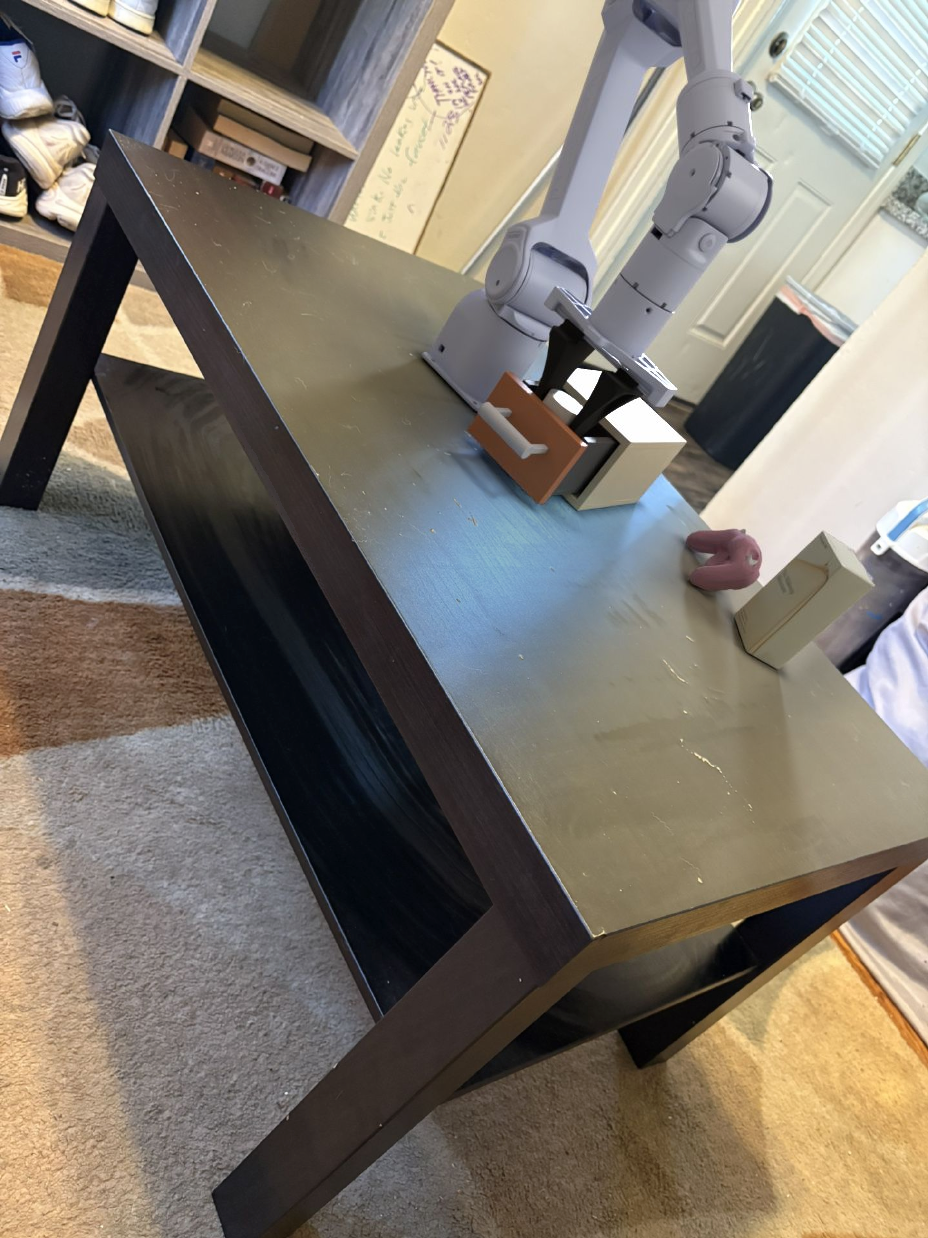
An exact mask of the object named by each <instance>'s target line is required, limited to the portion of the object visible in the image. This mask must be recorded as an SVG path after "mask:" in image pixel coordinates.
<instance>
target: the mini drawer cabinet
mask: <svg viewBox="0 0 928 1238" xmlns="http://www.w3.org/2000/svg"><path fill="white" fill-rule="evenodd" d="M601 372H602V371H599V370H593V369H592V370H591V369H584V368H579V367H578V368H577V369H576V370H575V371H574V373H573V374H572V375H571V376H570V377H569V379H568V380H567V382H566V383H565V385H564V386H563V389H564V390H565V391H566V392H568V393H569V394H570V395H571V396H572V397H573V398H574V399H575V400H576V401H577V402H578V403H579V404H580V405H581V406H582V407H583V406H584V405H585V403H586V401H587V400H588V398H589V396H590V395H591V393H592V391H593V389H594V387H595V385H596V383H597V381H598V378H599V376H600V374H601ZM540 380H541V377H540V378H539V380H538V381H540ZM599 423H600V424H601V425H602V426H603V427H604V428H605V429H606V430H607V431H608V432H609V433H610V434H611V435H612V436H613V437H614V438H615V439H616V440H618V441H619V442H620V443H621V444H620V445H619V446H618V448H617V449H616V450H615V451H614V453H613V454H612V455H611V456H610V458H609V459H608V460H607V462H606V463H605V464H604V465H603V467H602V468H601V469H600V471H599V472H598V473H597V474H596V476H595V477H594V478H593V480H592V481H591V482H590V483H589V485H588V486H587V487H586V489H585V490H584V491H583V492H579V493H569V494H560V496H562V497H563V498H564V499H565V500H566V501H567V502H568V504H570V505H571V506H572V507H573V508H574V509H575V510H576V511H578V512H579V511H586V510H594V509H601V508H609V507H617V506H622V505H623V506H624V505H631V504H637V503H638V502H639V501H640V500H641V498H643V496H644V495H645V494H646V492H648V491H649V489H650V488H651V487H652V485H653V484H654V483H655V481H657V479H658V478H659V477H660V475H661V474H662V473H663V472H664V471H665V469H666V468H667V467H668V466H669V465H670V464H671V462H672V461H673V460H674V459H675V457H676V456H677V455H678V454H679V453H680V452H681V450H682V449H683V448H684V447H685V446H686V445H687V443H688V442H687V440H686V439H685V438H684V437H683V436H681V435H680V434H679V433H678V432H677V431H676V430H675V429H674V428H673V427H672V426H670V425H669V424H668V423H667V422H666V421H665V420H664V419H663V418H662V417H661V416H660V415H659V414H658V413H656V411H654V410H653V408H651V407H650V406H649V404H647V403H646V402H645V401H644V400H642V398H641V397H640V398H638V399H636V400H634V401H632V402H630V403H628V404H626V405H624V406H622V407H620V408H619V409H617V410H615V411H614V412H612V413H611V414H609V415H608V416H606V417H605V418H603V419H602V420H601V421H599Z"/></svg>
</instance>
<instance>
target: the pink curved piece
mask: <svg viewBox="0 0 928 1238" xmlns="http://www.w3.org/2000/svg"><path fill="white" fill-rule="evenodd" d="M685 543H686V546H687V548H689V549H690V550H692V551H695V552H698V553H702V554H708V555H711V556H710V557H709V558H707V560H706V561H705V564H706V565H702V566H700V567H697V568H695V569H694V570H693V571H691V573H690V575H689V581H690V583H691V584H692V585H694V586H696V587H698V588H700V589H703V590H706V591H714V592H715V591H728V590H733V591H739V590H743V589H747V588H749V587H750V586H752V585H753V584H754V583H755V582H757V580H758V579H759V578H760V576H761V573H760V572H761V571H760V570H761V566H762V563H763V553H762V550H761V548H760V546H759V544H758V543H757V540H756V539H755V538H754V537H752V536H751V535H749V533H747V530H746V529H745V528H742V529H738V528H728V529H720V530H719V529H718V530H717V529H713V530H711V529H707V530H706V529H705V530H704V529H703V530H696V531H693V532H691V533H689V535H688V536H687V537H686V539H685Z"/></svg>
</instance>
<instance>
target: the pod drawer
mask: <svg viewBox="0 0 928 1238" xmlns="http://www.w3.org/2000/svg"><path fill="white" fill-rule="evenodd" d="M539 383H540V381H539V380H533V379H521V380H520V379H519V378H518V377H517V376H516V375H515V374H514V373H513V372H506V371H505V373H504V374H503V376H502V377H501V379H500V380H499V382H498V383H497V385H496V386H495V388H494V389H493V391H492V392H491V394H490V395H489V397H488V398H487V400H486V402H485V403H484V404H482V405H481V407H480V408H479V410H478V412H477V414H476V415H475V417H474V418H473V420H472V421H471V422H470V424H469V426H468V427H467V429H466V432H467V433H468V434H469V435H470V436H471V437H472V438H473V439H474V440H475V441H476V442H477V443H478V444H479V445H480V446H481V448H483V450H485V451H486V452H487V454H489V456H490V457H491V458H492V459H493V460H494V461H495V462H496V463H497V464H498V465H499V466H500V467H501V468H502V469H503V470H504V471H505V472H506V474H507V475H509V476H510V477H511V478H512V479H513V480H514V481H515V483H516V484H517V485H518V486H519V487H520V488H521V489H522V490H523V491H524V492H526V494H527V495H528V496H529V497H530V498H531V499H532V500H533V501H534V502H535V504H536V505H544V504H546V503H547V501H548V500H549V499H550V497H551V496H557V495H561V494H569V493H579V492H583V491H584V490H585V489H586V487H587V486H588V485H589V483H590V482H591V481H592V480H593V478H594V477H595V476H596V474H597V473H598V472H599V471H600V469H601V468H602V467H603V465H604V464H605V463H606V462H607V460H608V459H609V458H610V456H611V455H612V454H613V453H614V451H615V450H616V449H617V448H618V446H619V445H620V444H621V443H620V442H619V441H618V440H616V439H615V438H614V437H613V436H612V435H611V434H610V433H609V432H608V431H607V430H606V429H605V428H604V427H603V426H602V425H601V424H600V423H599V422H598V423H597V424H595V425H594V426H593V427H592V428H591V429H589V430H588V431H587V432H586V433H585V434H584V435H583V436H582V437H581V438H579V437H578V436H577V435H576V434H575V433H574V432H573V431H572V430H571V429H570V428H569V427H568V426H567V425H566V424H565V423H564V422H563V421H562V420H561V419H560V418H559V417H558V416H557V415H556V414H554V413H553V412H552V411H551V410H550V409H549V408H548V407H547V406H546V405H545V404H544V403H543V402H542V401H541V400H540V399H539V398H538V397H537V396H536V395H535V393H536V391H537V388H538V386H539ZM560 391H562V392H564V393H566V394H567V395H569V396H570V397H572V396H571V395H570V394H569V393H568V392H566V391H565V390H564V389H563V388H562V389H561V390H560ZM572 398H573V397H572ZM573 399H574V398H573ZM574 400H575V399H574Z"/></svg>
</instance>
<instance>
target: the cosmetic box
mask: <svg viewBox="0 0 928 1238" xmlns="http://www.w3.org/2000/svg"><path fill="white" fill-rule="evenodd" d="M874 587H876V584H875V583H874V582H873V580H872V578H871V576H870V575H869V573H868V570H866V567H865V566H864V565H863V563H862V562H861V560H860V557H859V556H858V555H857V553H856V551H855V550H854V549H853V548H851V547H850V546H849V545H846V544H845V543H843V542H842V541H840V539H837V538H836V537H834V536H833V535H831V534H830V533H828V532H827V531H825V530H821V531H820V532H819V533H818V535H816V536H815V537H814V538H813V539H812V540H811V541H810V542H809V543H808V544H807V545H805V547H804V548H803V549H802V550H801V551H800V552H798V553H797V554H796V556H795V557H793V558H792V559H791V560H790V561H789V562H788V563H787V564H786V565H785V566H784V567H783V568H781V570H780V571H778V572H777V573H776V574H775V575H774V576H773V577H772V578H771V579H770V580H769V581H768V582H767V583H765V584H764V586H763V587H762V588H761V589H759V590H758V591H757V592H756V593H755V594H754V595H753V596H752V597H751V598H750V599H749V600H748V601H747V602H746V603H744V605H743V606H742V607H740V609H739V610H737V612H735V613H734V614H733V615H734V616H733V617H734V619H735V622H736V625H737V626H736V627H737V628H738V631H739V634H740V638H741V640H742V643H743V647H744V649H745V651H746V653H748V654H750V655H751V656H753V657H755V658H757V659H758V660H760V661H762V662H764V663H765V664H767V665H769V666H771V667H773V668H774V669H776V670H780V669H781V668H783V667H784V666H785V665H786V664H787V663H788V662H789V661H791V660H792V659H793V658H795V656H796V655H797V654H799V653H800V652H801V651H802V650H803V649H805V648H806V647H807V646H808V645H809V644H810V643H811V642H812V641H814V640H815V639H816V638H817V637H818V636H819V635H820V634H822V633H823V632H824V631H825V630H826V629H827V628H829V627H830V626H831V625H832V624H833V623H835V621H837V620H838V619H840V617H842V615H844V614H845V613H846V612H847V611H848V610H849V609H850V608H852V607H853V606H854V605H856V603H857V602H859V601H860V600H861V599H862V598H863V597H864V596H865V595H866V594H868V593H869V592H870V591H871V590H872V589H873V588H874Z"/></svg>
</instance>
